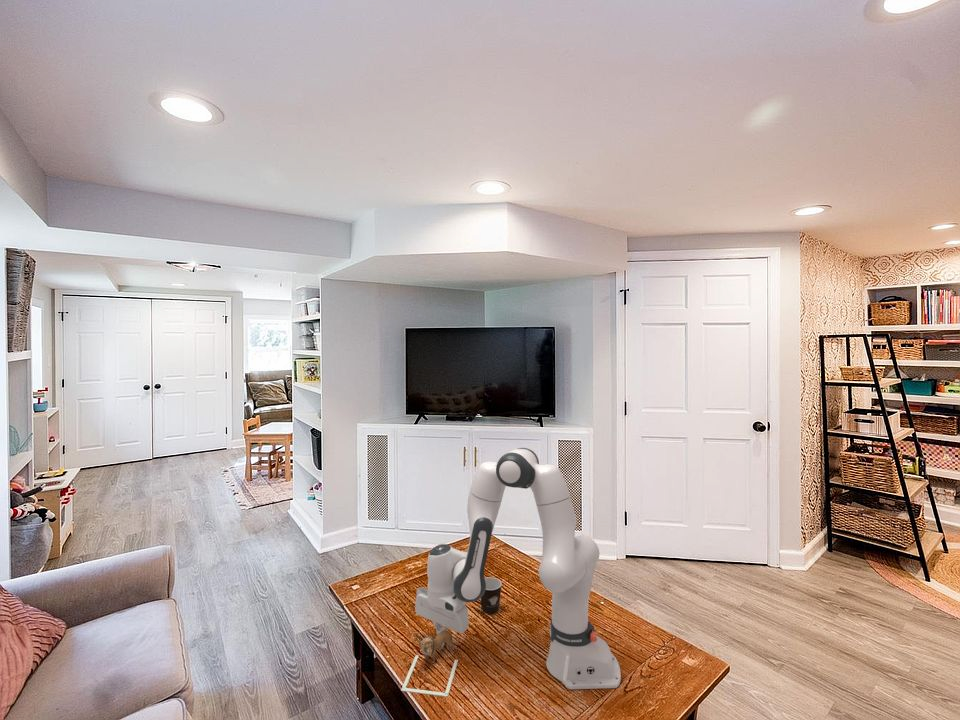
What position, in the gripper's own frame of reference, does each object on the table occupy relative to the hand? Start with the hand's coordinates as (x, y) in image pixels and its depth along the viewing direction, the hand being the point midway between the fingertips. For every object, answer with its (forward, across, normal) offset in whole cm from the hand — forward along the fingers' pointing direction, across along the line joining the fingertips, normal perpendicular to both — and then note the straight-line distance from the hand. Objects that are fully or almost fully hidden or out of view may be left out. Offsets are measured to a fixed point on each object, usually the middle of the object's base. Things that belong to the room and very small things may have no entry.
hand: (441, 634), depth 150 cm
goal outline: (+4, +5, -12) cm, 14 cm away
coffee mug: (+4, +2, +25) cm, 25 cm away
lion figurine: (+4, +2, -5) cm, 7 cm away
